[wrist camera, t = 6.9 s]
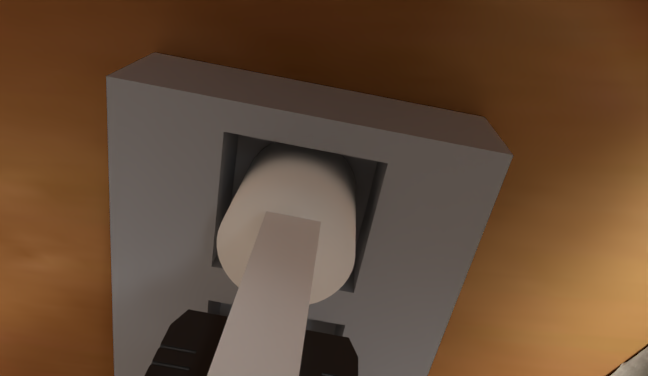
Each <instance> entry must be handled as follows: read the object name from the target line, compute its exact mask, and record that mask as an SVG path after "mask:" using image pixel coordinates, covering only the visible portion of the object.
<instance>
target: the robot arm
mask: <svg viewBox="0 0 648 376" xmlns="http://www.w3.org/2000/svg"><path fill="white" fill-rule="evenodd" d="M320 226H321V221H315V220H310V219H305V218H300V217H294V216H289V215H284V214H279V213H273V212H268V211H266V213H265V216H264V219H263V221H262V224H261V227H260V230H259V233H258V235H257V238H256V241H255V244H254V247H253V249H252V252H251V255H250V258H249V260H248V263H247V266H246V269H245V272H244V274H243V277H242V280H241V283H240V285H239V288H238V291H237V294H236V297H235V299H234V302H233V305H232V308H231V310H230V313H229V316H228V317H227V316H222V315H217V314H211V313H206V312H201V311H195V310H190V309H188V310H187V311H186V312H185V313H183V314H182V315H181V316H180V317H179V318H177V319H176V320H175V321H174V322H173V323H171V324H170V326H169V328H168V330H167V332H166V334H165V336H164V338H163V340H162V342H161V344H160V348H158V350H157V352H156V354H155V356H154V358H153V360H152V363H151V365H150V366H149V368H148V370H147V372H146V374H145V376H358V356H357V354H356V352H355V349H354V347H353V345H352V343H351V341H350V339H349V338H348V337H343V336H337V335H332V334H327V333H321V332H316V331H311V330H306V323H307V316H308V309H309V302H310V295H311V288H312V282H313V275H314V268H315V261H316V254H317V247H318V240H319V233H320Z"/></svg>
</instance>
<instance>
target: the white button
mask: <svg viewBox="0 0 648 376" xmlns="http://www.w3.org/2000/svg"><path fill="white" fill-rule="evenodd" d="M266 211H268V212H273V213H279V214H284V215H289V216H294V217H300V218H305V219H310V220H315V221H321V226H320V233H319V240H318V247H317V254H316V261H315V268H314V275H313V282H312V288H311V295H310V302H309V305H310V304H313V303H317V302H319V301H322V300H324V299H326V298H328V297H329V296H331V295H333V294H334V293H335V292H336V291H338V290H339V289H340V288H341V287H342V286H343V285H344V283H345V282H346V281H347V279H348V278H349V276H350V274H351V272H352V269H353V266H354V262H355V245H356V182H355V178H354V174H353V172H352V170H351V167H350V166H349V164H348V163H347V161H346V160H345V159H344V158H343V156H342V155H341V154H337V153H332V152H326V151H321V150H316V149H311V148H306V147H300V146H295V145H290V144H285V143H280V142H274V143H272V144H270V145H269V146H267V147H266V148H264V149H263V150H262V151H261V152H260V153H259V154H258V155H257V156H256V157H255V158H254V160H253V161H252V163H251V165H250V167H249V169H248V171H247V173H246V175H245V177H244V179H243V181H242V183H241V185H240V187H239V189H238V191H237V193H236V195H235V197H234V199H233V200H232V202H231V204H230V206H229V208H228V210H227V212H226V214H225V216H224V218H223V220H222V222H221V224H220V227H219V230H218V235H217V252H218V257H219V260H220V263H221V265H222V267H223V269H224V271H225V272H226V274H227V276H228V277H229V278H230V279H231V280H232V282H233V283H234V284H235V285H236V286H237V287H239V285H240V283H241V280H242V277H243V274H244V272H245V269H246V266H247V263H248V260H249V258H250V255H251V252H252V249H253V247H254V244H255V241H256V238H257V235H258V233H259V230H260V227H261V224H262V221H263V219H264V216H265V213H266Z"/></svg>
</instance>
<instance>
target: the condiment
mask: <svg viewBox="0 0 648 376" xmlns="http://www.w3.org/2000/svg"><path fill="white" fill-rule="evenodd" d="M610 376H648V347H647V348H645V349H644V350H643V351H641V352H640V353H639V354H637V355H636V356H635V357H633V358H632V359H631V360H629V361H628V362H624V363H622V364H621V366H620V367H619V368H618V369H617V370H616V371H615V372H614V373H613V374H612V375H610Z"/></svg>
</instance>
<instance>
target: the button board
mask: <svg viewBox="0 0 648 376" xmlns="http://www.w3.org/2000/svg"><path fill="white" fill-rule="evenodd" d="M106 89H107V126H108V163H109V201H110V238H111V275H112V313H113V350H114V376H145V374H146V372H147V370H148V368H149V366H150V365H151V363H152V360H153V358H154V356H155V354H156V352H157V350H158V348H160V344H161V342H162V340H163V338H164V336H165V334H166V332H167V330H168V328H169V326H170V324H171V323H173V322H174V321H175V320H176V319H177V318H179V317H180V316H181V315H182V314H183V313H185V312H186V311H187V310H188V309H190V310H195V311H201V312H206V313H211V314H217V315H222V316H227V317H228V316H229V313H230V310H231V308H232V305H233V302H234V299H235V297H236V294H237V291H238V288H239V287H237V286H236V285H235V284H234V283H233V282H232V280H231V279H230V278H229V277H228V276H227V274H226V272H225V271H224V269H223V267H222V265H221V263H220V260H219V257H218V252H217V235H218V230H219V227H220V224H221V222H222V220H223V218H224V216H225V214H226V212H227V210H228V208H229V206H230V204H231V202H232V200H233V199H234V197H235V195H236V193H237V191H238V189H239V187H240V185H241V183H242V181H243V179H244V177H245V175H246V173H247V171H248V169H249V167H250V165H251V163H252V161H253V160H254V158H255V157H256V156H257V155H258V154H259V153H260V152H261V151H262V150H263V149H264V148H266V147H267V146H269V145H270V144H272V143H274V142H280V143H285V144H290V145H295V146H300V147H306V148H311V149H316V150H321V151H326V152H332V153H337V154H341V155H342V156H343V158H344V159H345V160H346V161H347V163H348V164H349V166H350V167H351V170H352V172H353V174H354V178H355V182H356V245H355V262H354V266H353V269H352V272H351V274H350V276H349V278H348V279H347V281H346V282H345V283H344V285H343V286H342V287H341V288H340V289H339V290H338V291H336V292H335V293H334V294H333V295H331V296H329V297H328V298H326V299H324V300H322V301H319V302H317V303H313V304H310V305H309V309H308V316H307V323H306V330H311V331H316V332H321V333H327V334H332V335H337V336H343V337H348V338H349V339H350V341H351V343H352V345H353V347H354V349H355V352H356V354H357V356H358V376H427V375H428V373H429V370H430V368H431V365H432V363H433V360H434V357H435V355H436V352H437V350H438V347H439V345H440V342H441V340H442V337H443V334H444V332H445V329H446V327H447V324H448V322H449V319H450V316H451V314H452V311H453V309H454V306H455V304H456V301H457V299H458V296H459V293H460V291H461V288H462V286H463V283H464V281H465V278H466V276H467V273H468V270H469V268H470V265H471V263H472V260H473V258H474V255H475V252H476V250H477V247H478V245H479V242H480V240H481V237H482V235H483V232H484V229H485V227H486V224H487V222H488V219H489V217H490V214H491V211H492V209H493V206H494V204H495V201H496V199H497V196H498V194H499V191H500V188H501V186H502V183H503V181H504V178H505V176H506V173H507V170H508V168H509V165H510V163H511V160H512V158H513V154H512V153H511V151H510V150H509V149H508V147H507V146H506V145H505V143H504V142H503V141H502V139H501V138H500V137H499V135H498V134H497V133H496V131H495V130H494V129H493V128H492V126H491V125H490V124H489V122H488V121H487V120H486V118H485V117H482V116H477V115H472V114H467V113H462V112H457V111H451V110H446V109H441V108H436V107H431V106H426V105H421V104H416V103H411V102H405V101H400V100H395V99H390V98H385V97H380V96H375V95H370V94H365V93H359V92H354V91H349V90H344V89H339V88H334V87H329V86H324V85H319V84H313V83H308V82H303V81H298V80H293V79H288V78H283V77H278V76H273V75H267V74H262V73H257V72H252V71H247V70H242V69H237V68H232V67H227V66H221V65H216V64H211V63H206V62H201V61H196V60H191V59H186V58H181V57H175V56H170V55H165V54H160V53H155V52H154V53H152V54H150V55H148V56H146V57H144V58H142V59H140V60H138V61H136V62H134V63H132V64H130V65H128V66H126V67H124V68H122V69H120V70H118V71H115V72H113V73H111V74H109V75H107V76H106Z"/></svg>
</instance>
